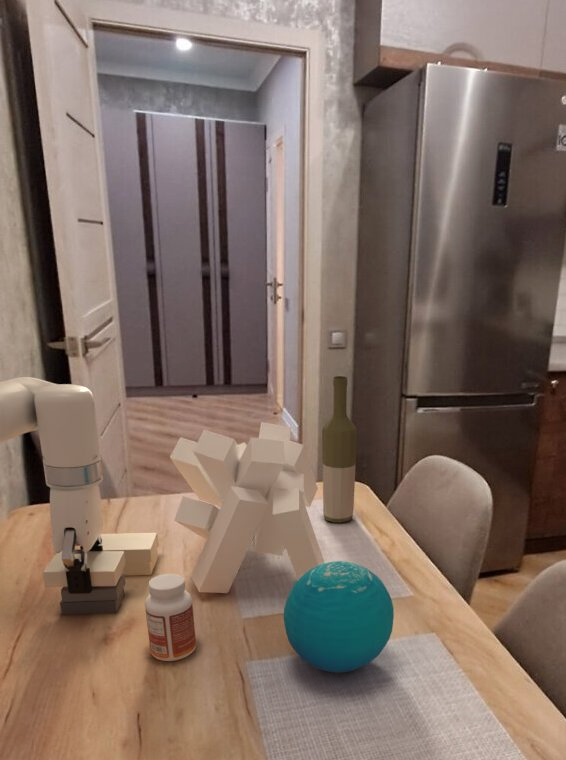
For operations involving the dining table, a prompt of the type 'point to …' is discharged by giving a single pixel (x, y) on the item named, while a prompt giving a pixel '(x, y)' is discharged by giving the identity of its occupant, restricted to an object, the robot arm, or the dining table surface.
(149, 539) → the white books
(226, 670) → the dining table surface
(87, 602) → the grey books
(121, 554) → the cream flat block
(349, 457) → the bottle
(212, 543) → the pile of blocks
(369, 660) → the decorative orb
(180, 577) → the pill bottle
